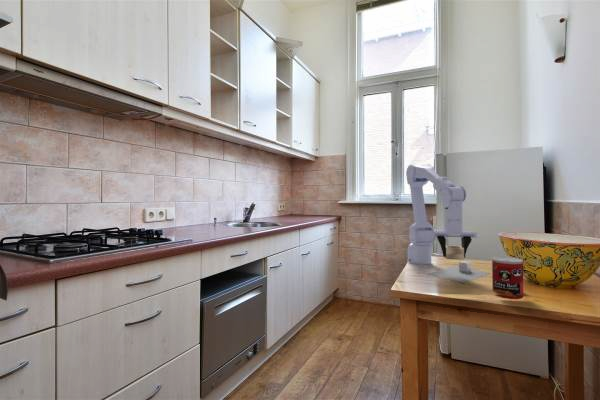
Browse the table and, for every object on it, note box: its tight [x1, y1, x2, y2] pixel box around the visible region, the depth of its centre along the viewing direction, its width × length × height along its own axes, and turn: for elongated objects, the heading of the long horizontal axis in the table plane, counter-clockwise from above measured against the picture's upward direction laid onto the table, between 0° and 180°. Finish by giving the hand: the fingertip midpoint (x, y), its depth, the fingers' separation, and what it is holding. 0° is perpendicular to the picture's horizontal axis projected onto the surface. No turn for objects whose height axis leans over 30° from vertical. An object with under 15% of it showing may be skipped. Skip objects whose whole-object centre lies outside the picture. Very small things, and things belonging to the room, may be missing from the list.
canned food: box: [491, 256, 524, 300], centre depth 90 cm, size 8×8×11 cm
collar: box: [444, 245, 465, 261], centre depth 108 cm, size 6×6×4 cm
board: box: [426, 265, 491, 283], centre depth 110 cm, size 14×20×1 cm
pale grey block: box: [458, 260, 472, 273], centre depth 113 cm, size 3×3×4 cm
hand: (453, 256), depth 109 cm, fingers closed on collar, 6 cm apart
